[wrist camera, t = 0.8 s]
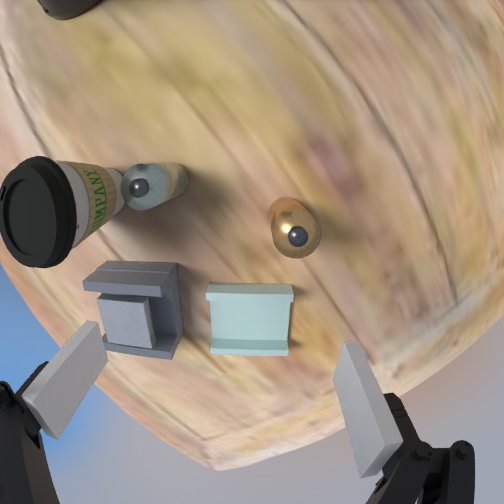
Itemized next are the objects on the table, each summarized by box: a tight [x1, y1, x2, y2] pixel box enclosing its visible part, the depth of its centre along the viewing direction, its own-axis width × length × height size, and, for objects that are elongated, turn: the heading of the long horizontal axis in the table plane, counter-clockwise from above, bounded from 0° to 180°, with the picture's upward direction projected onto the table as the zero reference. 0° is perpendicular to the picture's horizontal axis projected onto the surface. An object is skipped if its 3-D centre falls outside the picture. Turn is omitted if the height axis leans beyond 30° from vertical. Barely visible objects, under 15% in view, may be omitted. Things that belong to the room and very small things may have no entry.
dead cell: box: [121, 163, 189, 211], centre depth 25 cm, size 4×4×10 cm
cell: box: [269, 197, 321, 258], centre depth 26 cm, size 4×4×10 cm
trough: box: [206, 283, 294, 356], centre depth 34 cm, size 9×10×3 cm
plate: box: [97, 293, 156, 348], centre depth 29 cm, size 6×6×2 cm
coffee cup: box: [0, 156, 125, 268], centre depth 23 cm, size 10×10×15 cm
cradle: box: [82, 261, 184, 360], centre depth 32 cm, size 10×10×6 cm
